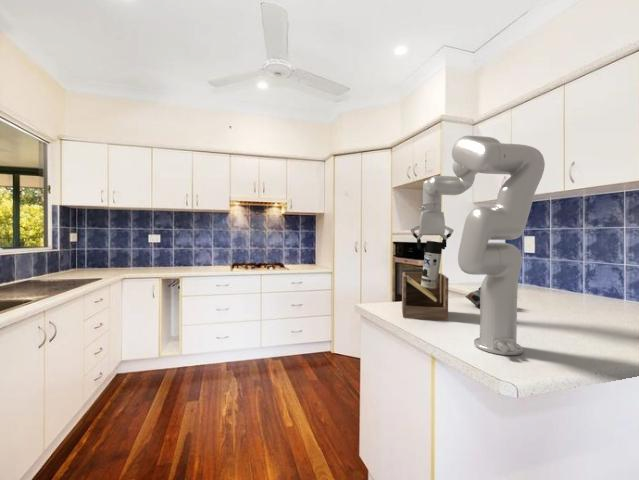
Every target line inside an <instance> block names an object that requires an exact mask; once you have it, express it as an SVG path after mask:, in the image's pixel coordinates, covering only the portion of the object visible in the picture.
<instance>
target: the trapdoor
mask: <svg viewBox="0 0 639 480" xmlns="http://www.w3.org/2000/svg"><path fill="white" fill-rule="evenodd" d="M406 280H407V281H408V282H409V283H410V284H412V285H413V286H414V287H416V288H417V289H419V290H420V291H421V292H423V293H424V294H425V295H427V296H428V297H430V298H431V299H432V300H434V301H435V302H436V301H437V299H436V298H435V296H434V295H433V294H432V293H431V292H430V291H428V290H427V289H425V288H424V287H421V285H420V284H419V283H417V282H416V281H414V280H413V279H412V278H410V276H408V275H406Z"/></svg>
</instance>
